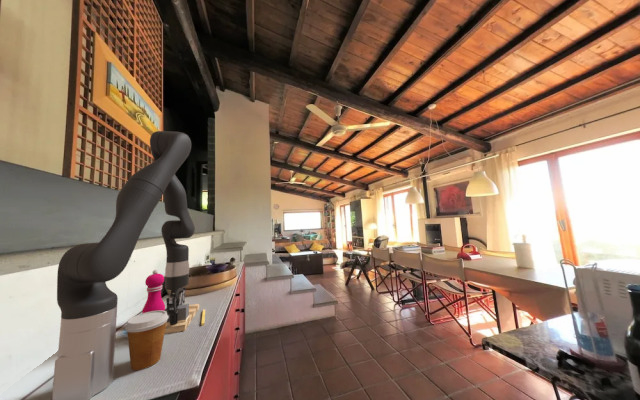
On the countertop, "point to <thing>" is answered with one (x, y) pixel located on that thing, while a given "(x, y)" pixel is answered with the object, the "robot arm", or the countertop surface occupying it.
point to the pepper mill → (154, 293)
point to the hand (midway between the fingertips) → (176, 320)
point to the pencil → (203, 317)
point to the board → (183, 325)
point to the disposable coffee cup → (146, 338)
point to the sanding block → (180, 314)
